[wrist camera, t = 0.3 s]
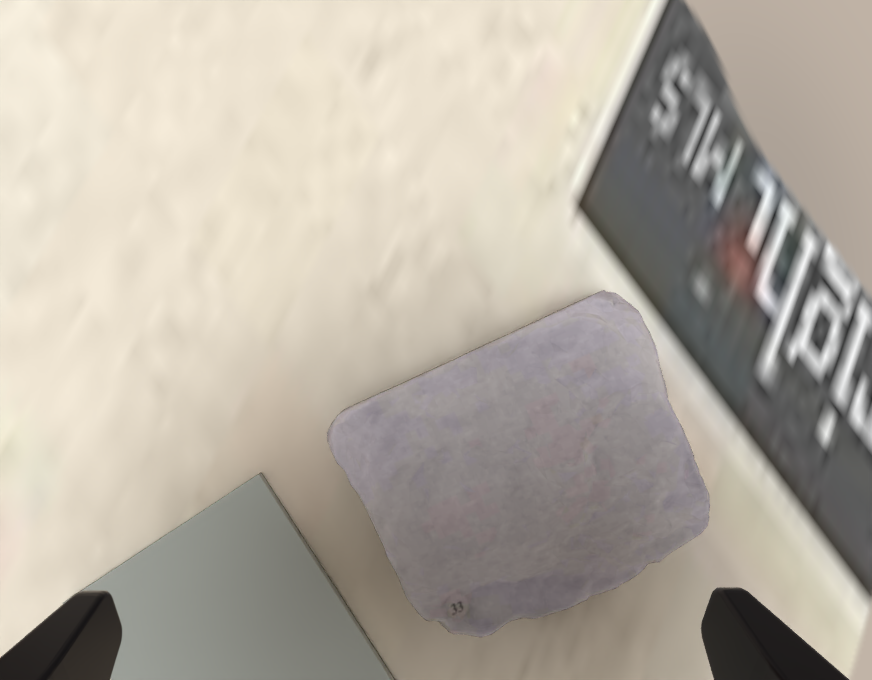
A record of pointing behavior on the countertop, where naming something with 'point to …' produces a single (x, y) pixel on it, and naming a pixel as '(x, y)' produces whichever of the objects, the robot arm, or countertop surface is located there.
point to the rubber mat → (235, 602)
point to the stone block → (526, 469)
